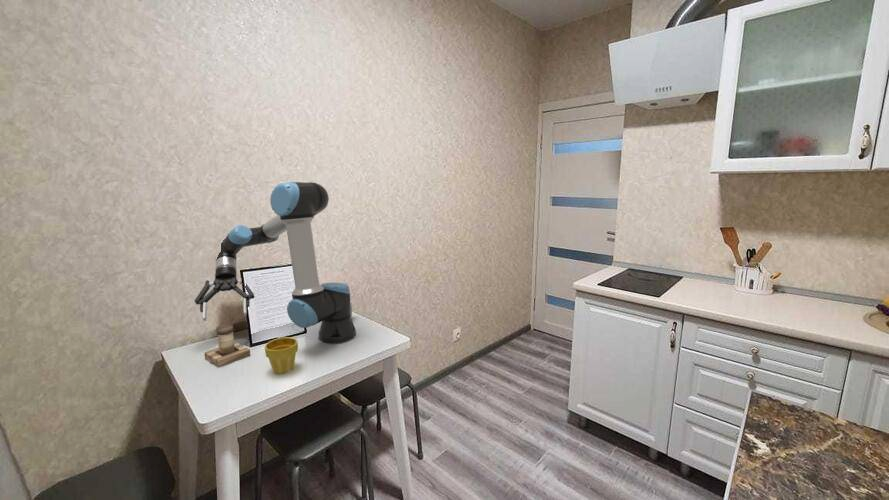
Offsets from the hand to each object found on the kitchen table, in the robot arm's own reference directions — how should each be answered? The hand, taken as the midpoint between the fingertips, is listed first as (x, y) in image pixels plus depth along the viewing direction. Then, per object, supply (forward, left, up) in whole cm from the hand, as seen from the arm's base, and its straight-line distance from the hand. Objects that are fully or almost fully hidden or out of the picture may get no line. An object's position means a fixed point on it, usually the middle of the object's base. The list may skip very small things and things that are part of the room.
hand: (225, 316), depth 139 cm
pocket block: (-8, +4, -13) cm, 16 cm away
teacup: (-12, -46, -13) cm, 49 cm away
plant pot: (-33, -3, -13) cm, 35 cm away
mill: (-8, +4, -13) cm, 16 cm away
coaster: (+1, -4, -13) cm, 14 cm away
